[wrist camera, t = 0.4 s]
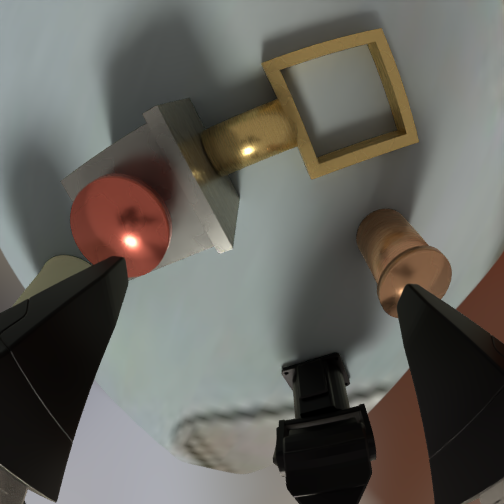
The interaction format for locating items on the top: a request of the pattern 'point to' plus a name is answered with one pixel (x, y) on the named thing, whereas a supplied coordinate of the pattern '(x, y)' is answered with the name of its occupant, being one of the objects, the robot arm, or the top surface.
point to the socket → (391, 86)
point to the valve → (170, 185)
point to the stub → (400, 258)
